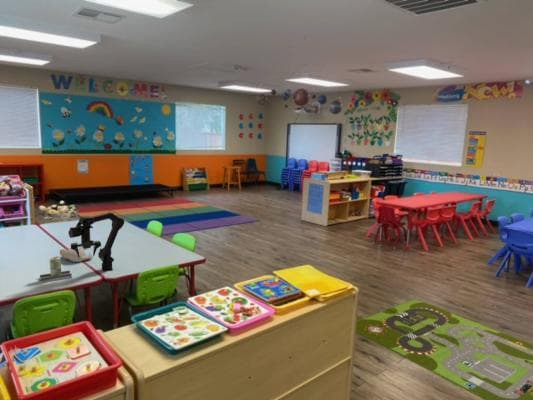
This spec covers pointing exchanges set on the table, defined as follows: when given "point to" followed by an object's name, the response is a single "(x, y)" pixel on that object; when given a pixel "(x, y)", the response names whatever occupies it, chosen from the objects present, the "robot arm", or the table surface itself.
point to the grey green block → (55, 266)
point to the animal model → (75, 254)
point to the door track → (53, 278)
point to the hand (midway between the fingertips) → (86, 257)
